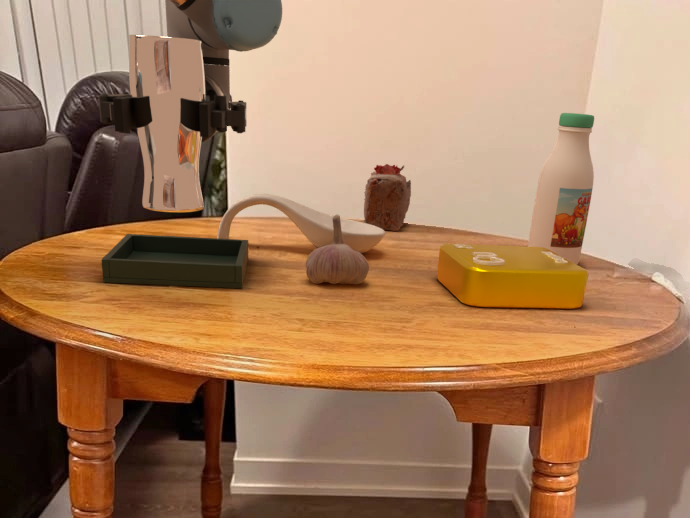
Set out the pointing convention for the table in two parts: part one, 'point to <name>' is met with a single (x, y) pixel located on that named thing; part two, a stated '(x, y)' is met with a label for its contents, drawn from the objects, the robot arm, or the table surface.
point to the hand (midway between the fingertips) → (161, 117)
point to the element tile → (511, 276)
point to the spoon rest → (309, 223)
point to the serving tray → (177, 261)
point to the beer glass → (168, 118)
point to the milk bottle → (565, 190)
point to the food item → (387, 198)
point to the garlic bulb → (336, 261)
